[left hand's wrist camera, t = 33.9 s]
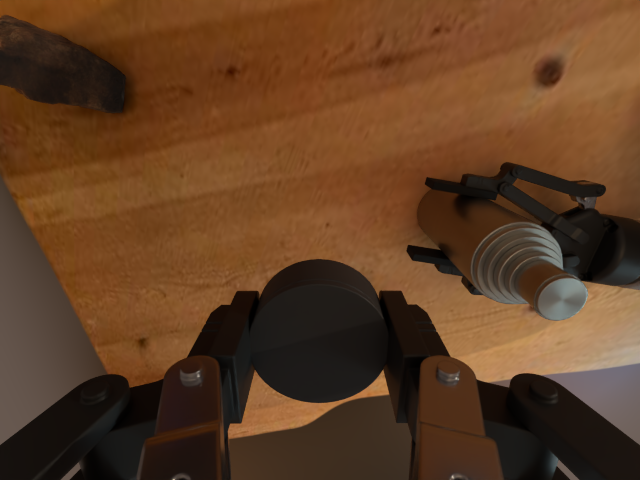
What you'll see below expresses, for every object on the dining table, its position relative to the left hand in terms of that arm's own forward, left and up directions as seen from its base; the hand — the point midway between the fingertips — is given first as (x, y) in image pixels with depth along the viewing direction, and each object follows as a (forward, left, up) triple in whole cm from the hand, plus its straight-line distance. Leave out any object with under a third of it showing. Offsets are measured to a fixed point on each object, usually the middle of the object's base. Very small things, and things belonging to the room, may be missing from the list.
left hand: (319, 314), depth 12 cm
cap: (0, 0, +2) cm, 2 cm away
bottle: (+16, 0, -31) cm, 35 cm away
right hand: (+11, -1, -25) cm, 27 cm away
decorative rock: (-28, +3, -31) cm, 42 cm away
